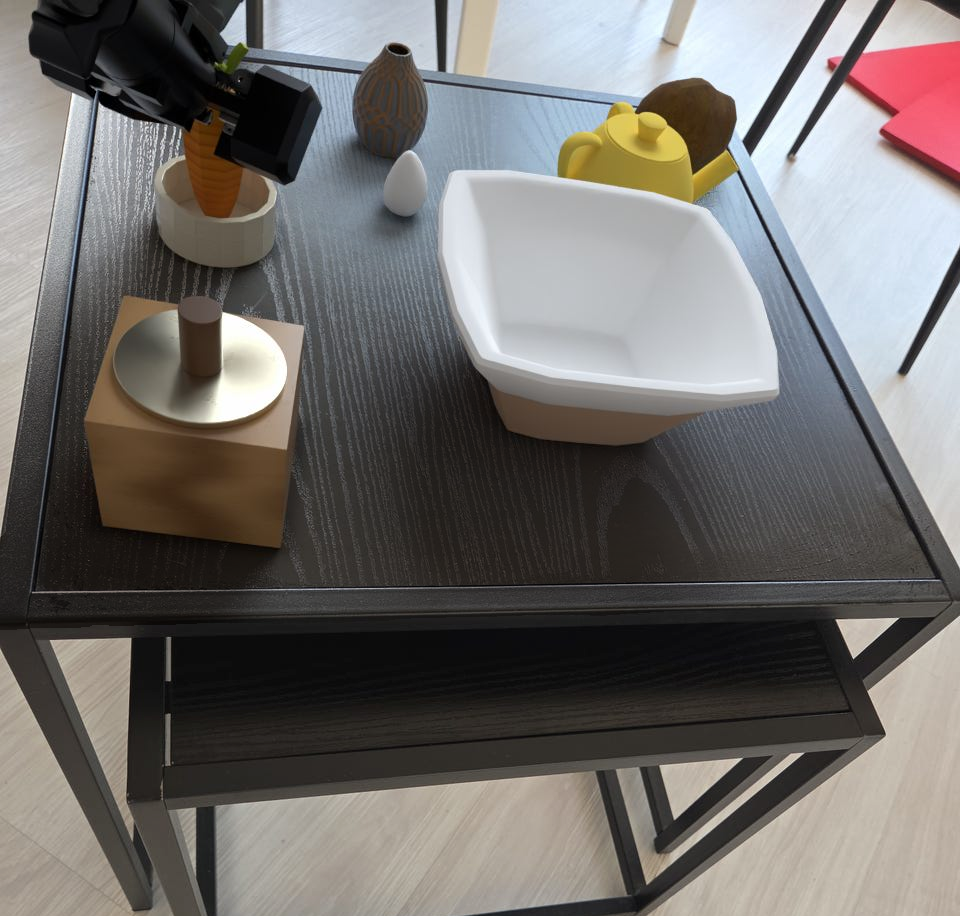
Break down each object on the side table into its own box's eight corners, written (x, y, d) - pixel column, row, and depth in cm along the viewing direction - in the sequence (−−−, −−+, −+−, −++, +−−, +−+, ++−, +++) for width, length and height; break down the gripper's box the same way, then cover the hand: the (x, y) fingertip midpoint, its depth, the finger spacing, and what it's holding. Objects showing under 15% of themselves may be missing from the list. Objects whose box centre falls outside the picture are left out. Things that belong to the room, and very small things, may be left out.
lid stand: (102, 526, 59) (83, 420, 51) (136, 404, 65) (123, 294, 58) (280, 548, 61) (287, 450, 53) (297, 428, 67) (304, 325, 60)
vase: (435, 153, 91) (452, 58, 83) (389, 175, 87) (402, 77, 80) (381, 118, 92) (393, 21, 85) (333, 138, 88) (342, 39, 81)
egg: (408, 229, 83) (418, 169, 78) (373, 209, 83) (380, 149, 79) (430, 212, 85) (441, 153, 81) (396, 193, 85) (405, 133, 81)
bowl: (741, 510, 72) (809, 407, 63) (425, 487, 66) (453, 371, 58) (676, 309, 85) (725, 200, 76) (406, 276, 79) (426, 154, 71)
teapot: (645, 306, 84) (696, 190, 75) (518, 233, 86) (552, 111, 77) (706, 242, 92) (758, 130, 83) (589, 176, 94) (627, 60, 85)
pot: (148, 255, 74) (144, 208, 70) (168, 189, 79) (166, 142, 75) (267, 276, 75) (269, 232, 72) (280, 210, 80) (282, 165, 77)
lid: (97, 414, 52) (87, 353, 48) (132, 302, 57) (125, 240, 54) (277, 440, 54) (280, 383, 50) (294, 329, 59) (298, 271, 56)
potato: (735, 197, 98) (774, 113, 91) (632, 187, 95) (664, 100, 88) (709, 151, 103) (744, 67, 95) (609, 140, 99) (638, 53, 92)
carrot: (258, 224, 78) (263, 31, 66) (230, 254, 75) (229, 57, 63) (203, 201, 78) (198, 4, 66) (173, 231, 75) (161, 30, 63)
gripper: (320, -48, 55) (376, 77, 70) (34, -170, 55) (152, -20, 71) (250, 141, 56) (320, 222, 72) (-26, 20, 57) (102, 126, 72)
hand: (225, 134), depth 72 cm, fingers closed on carrot, 5 cm apart
